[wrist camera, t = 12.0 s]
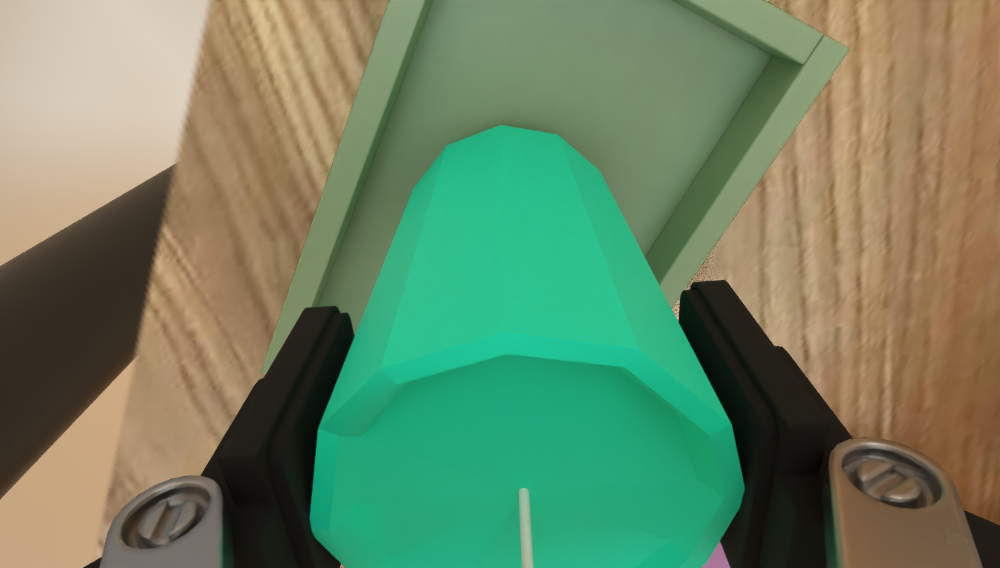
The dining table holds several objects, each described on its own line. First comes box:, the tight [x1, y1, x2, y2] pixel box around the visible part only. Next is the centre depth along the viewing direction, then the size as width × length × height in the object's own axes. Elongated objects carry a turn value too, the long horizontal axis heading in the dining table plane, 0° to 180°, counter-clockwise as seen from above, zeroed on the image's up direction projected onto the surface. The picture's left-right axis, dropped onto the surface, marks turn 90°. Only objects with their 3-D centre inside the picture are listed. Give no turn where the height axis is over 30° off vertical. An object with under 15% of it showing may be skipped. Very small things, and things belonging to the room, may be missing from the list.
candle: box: [310, 125, 745, 568], centre depth 12 cm, size 6×6×12 cm
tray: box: [261, 0, 849, 375], centre depth 18 cm, size 11×16×3 cm
